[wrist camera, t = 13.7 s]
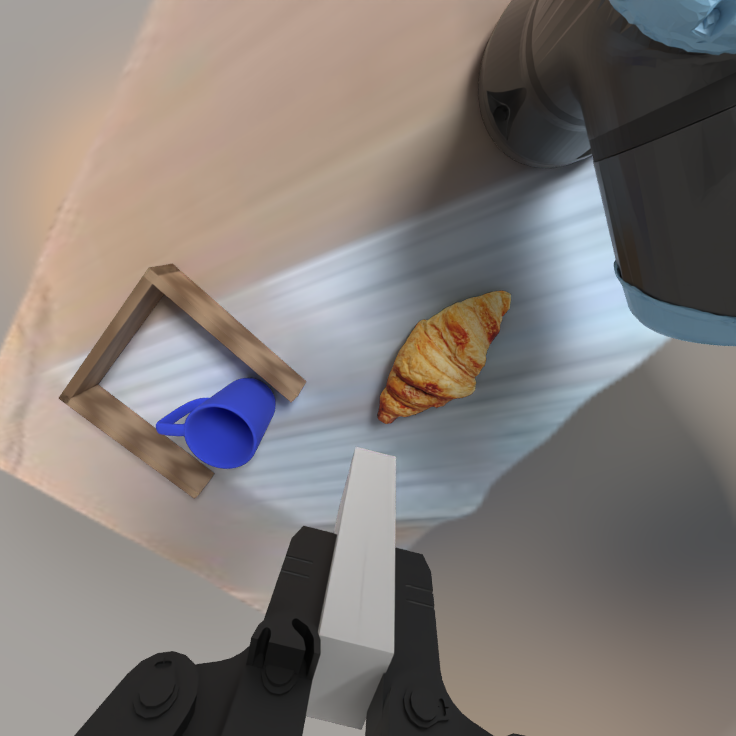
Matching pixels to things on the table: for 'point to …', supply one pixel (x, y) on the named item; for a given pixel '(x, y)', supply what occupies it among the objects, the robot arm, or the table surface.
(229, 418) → the mug
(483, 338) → the croissant
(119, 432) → the box
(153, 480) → the table surface
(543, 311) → the table surface
